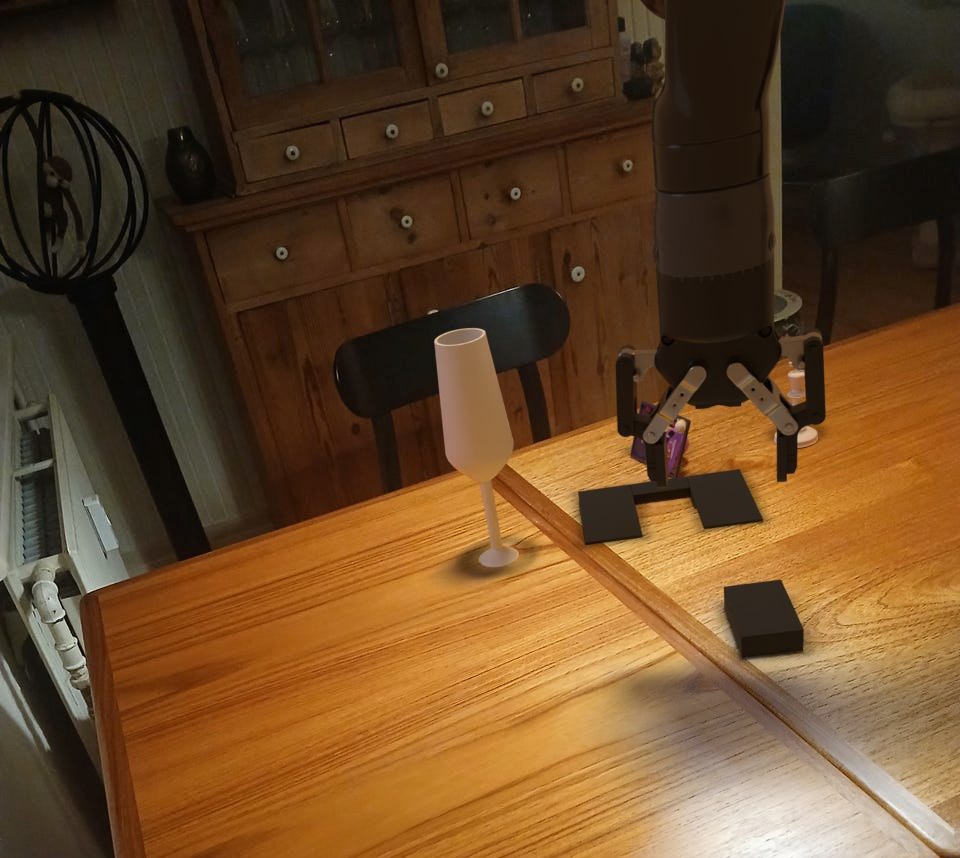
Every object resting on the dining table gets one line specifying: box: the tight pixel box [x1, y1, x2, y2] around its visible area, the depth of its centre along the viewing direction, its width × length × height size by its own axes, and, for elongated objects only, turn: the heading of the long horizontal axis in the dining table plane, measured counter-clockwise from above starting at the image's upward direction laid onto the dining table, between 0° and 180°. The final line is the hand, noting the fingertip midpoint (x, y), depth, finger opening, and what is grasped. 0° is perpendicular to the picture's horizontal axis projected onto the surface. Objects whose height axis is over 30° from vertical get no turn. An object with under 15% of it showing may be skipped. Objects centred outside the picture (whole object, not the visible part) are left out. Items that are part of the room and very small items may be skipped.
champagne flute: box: [433, 327, 520, 568], centre depth 96 cm, size 7×7×24 cm
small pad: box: [723, 578, 805, 659], centre depth 84 cm, size 5×8×3 cm, turn 179°
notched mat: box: [577, 468, 764, 546], centre depth 105 cm, size 18×12×1 cm, turn 89°
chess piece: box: [773, 361, 819, 449], centre depth 113 cm, size 5×5×10 cm
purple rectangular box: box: [629, 400, 692, 478], centre depth 115 cm, size 7×5×9 cm
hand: (721, 480), depth 73 cm, fingers open, 8 cm apart
